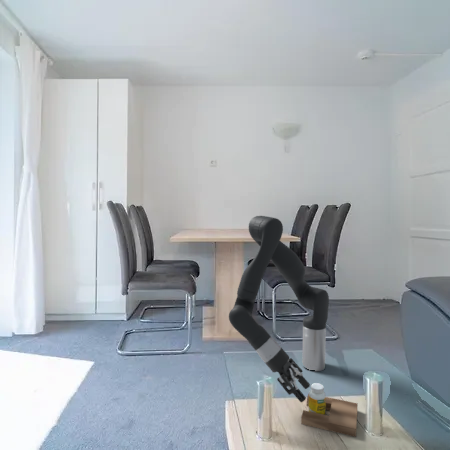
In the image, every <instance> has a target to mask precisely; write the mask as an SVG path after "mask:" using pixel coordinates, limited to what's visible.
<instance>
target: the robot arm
mask: <svg viewBox="0 0 450 450" xmlns="http://www.w3.org/2000/svg"><path fill="white" fill-rule="evenodd" d="M283 227H284V226H283V223H282V221H281V220H280V219H278V218H277V217H272V216H266V215H256V216H254V217H252V218H251V219H250V221H249V223H248V233H249V236H250V237H251V238H252V240H253V241H254V242H255V243H256V244H257V245H258V246H259V249H258V252H257V254H256V255H255V256H254V258H253V260H251V262H250V263H249V264H247V266H246V267H245V269H244V271H243V273H242V275H241V278H240V281H239V284H238V288H237V293H236V299H235V302H234V305H233V308H232V309H231V310H230V311H229V314H228V320H229V322H230V324H231V326H232V327H233V328H234V329H235V330H236V331H237V332H238V333H239V334H240V335H241V336H242V337H244V338H245V339H246V341H248V343H249V344H250V346H251V347H252V348H253V349H254V350H255V352H256V353H257V355H258V356H259V358H260V359H261V360H262V361H263V362H264V363H265V364H266V366H267V367H268V368H269V370H270V371H271V372H272V373H278V374H279V377H277V378H276V381H277V382H278V383H279V384H280V385H281V387H282V388H283V389H284V390H285V392H286V393H287V394H288V395H289V396H291V395H292V394H293V395H294V396H295V397H296V399H297V400H298V401H299V402H300V403H303V402H304V401H306V400H307V397H306V396H305V395H304V394H303V392H302V391H301V390H300V389H299V388H298V386H297V384H296V383H297V381H298V382H299V384H300V385H301V386H302V387H303V388H304V390H308V388H310V387H311V384H310V383H309V382H308V380H307V379H306V377H304V374H303V369H302V368H301V367H300V365H298V364H297V362H295V361H294V359H293V358H292V357H291V358H290V356H289V355H288V354H287V352H286V351H285V350H284V349H283V347H281V345H280V344H279V343H278V342H277V341H276V340H275V339H274V338H273V337H272V336H271V335H270V333H269V332H268V331H267V330H266V329H265V328H264V327H263V326H262V325H260V324H259V323H258V322H257V321H256V320H255V319H254V318H253V317H252V314H253V312H254V311H253V310H254V307H255V301H256V299H257V297H258V293H259V291H260V286H261V284H262V281H263V278H264V275H265V273H266V271H267V268H268V266H269V264H270V263H271V262H272V264H273V265H274V266H275V268H276V269H277V271H278V272H279V274H281V276H282V278H284V280H285V281H286V283H287V284H288V286H289V287H290V289H291V290H292V292H293V293H294V295H295V296H296V298H297V301H298V302H299V304H300V306H301V307H303V308H305V309H308V310H311V311H312V315H308V316H305V317H304V318H303V320H302V357H301V361H302V362H301V363H303V365H304V366H305V367H306V368H307V369H309V370H308V371H310V370H315V371H314V372H321V371H324V369H325V367H326V341H327V339H326V338H327V337H326V336H327V335H326V333H327V332H326V331H327V321H328V318H329V317H328V316H329V304H330V298H329V293H328V291H327V290H325V289H324V288H318V287H315V286H311V285H309V284H308V282H307V281H306V280H305V275H306V268H305V265H304V264H303V262H302V260H301V259H300V257H299V255H298V254H297V253H296V252H294V250H292V248H290V247H289V246H287V245H286V244H285V243H284V242H282V241H281V239H282V236H283V233H284V232H283V231H284V228H283ZM307 369H306V370H307Z"/></svg>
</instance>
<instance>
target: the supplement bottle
mask: <svg viewBox="0 0 450 450" xmlns="http://www.w3.org/2000/svg"><path fill="white" fill-rule="evenodd" d="M324 389H325V387H324V385H323V384H321V383H318V382H314V383H312V384H310V390H309V391H308V394H309V406H308V411H310V412H314V413H319V414H323V415H326V410H325V408H326V397H327V396H326V392H324V391H325V390H324Z"/></svg>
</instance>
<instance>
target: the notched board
mask: <svg viewBox="0 0 450 450" xmlns="http://www.w3.org/2000/svg"><path fill="white" fill-rule="evenodd" d="M306 406H307V407H309V393H308V394H307V397H306ZM358 408H359V407H358V403H357V402H352V401H349V400H348V401H347V400H343V399H342V400H341V399H338V398H332V397H329V396H326V408H325V411H329V415H327V414H325V415H323V414H319V413H314V412H310V411H309V410H304V409H303V410H302V414H301V420H300V422H301V425H305V426H308V427H313V428H316V429H317V428H318V429H320V430H325V431H329V432H333V433H338V434H343V435H346V436H350V437H355V438H356V437H357V423H358V422H357V421H358Z"/></svg>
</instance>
